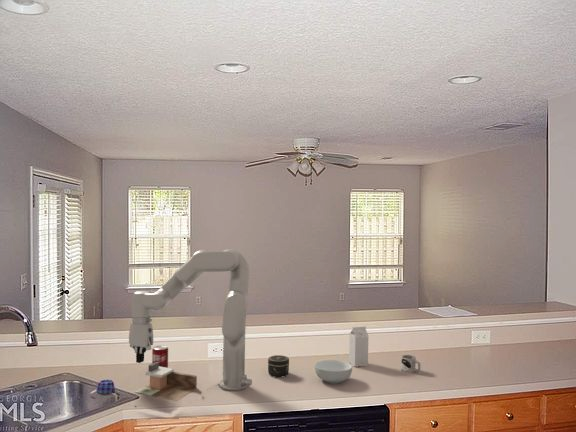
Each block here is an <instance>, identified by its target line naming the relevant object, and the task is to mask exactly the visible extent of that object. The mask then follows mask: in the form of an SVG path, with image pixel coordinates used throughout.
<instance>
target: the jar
mask: <svg viewBox="0 0 576 432" xmlns="http://www.w3.org/2000/svg"><path fill="white" fill-rule="evenodd" d="M267 363H268V364H267V372H268V375H269V376H270V375H271V377H273V376H275V377H274V378H283V377H282V376H285V377H286V375H287V376H288V374H289V371H290V358H289V357H288V356H286V355H282V354H280V355H279V354H277V355H271V356H269V357H268V359H267Z"/></svg>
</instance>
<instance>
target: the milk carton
mask: <svg viewBox="0 0 576 432" xmlns="http://www.w3.org/2000/svg"><path fill="white" fill-rule="evenodd" d="M367 331H368V330H367V329H366V326H354V327H352V329H351V331H350V332H349V344H348V345H349V347H348V349H349V350H348V356H349V357H348V363H349V364H350V363H351V365H352V367H354V366H355V367H354V368H359V367H358V366H361V367H368V366H369V335H368V332H367Z"/></svg>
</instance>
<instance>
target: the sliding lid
mask: <svg viewBox="0 0 576 432" xmlns="http://www.w3.org/2000/svg"><path fill="white" fill-rule="evenodd" d="M171 372H175V369H174V368H171V367H168V368H166V367H160V366H159V362H155V363H153V364H152V363H150V364H148V371H146V372H145V376H148V377H150V376H154V377H160V378H162V377H164V376H166V375H168V374H169V373H171Z"/></svg>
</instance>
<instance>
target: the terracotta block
mask: <svg viewBox="0 0 576 432" xmlns="http://www.w3.org/2000/svg"><path fill="white" fill-rule="evenodd" d="M149 384H150V388H154V389H159V390H160V389H161V388H163V387H165V386H167V375H166V376H164V377H162V378H160V377H154V376H149Z"/></svg>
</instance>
